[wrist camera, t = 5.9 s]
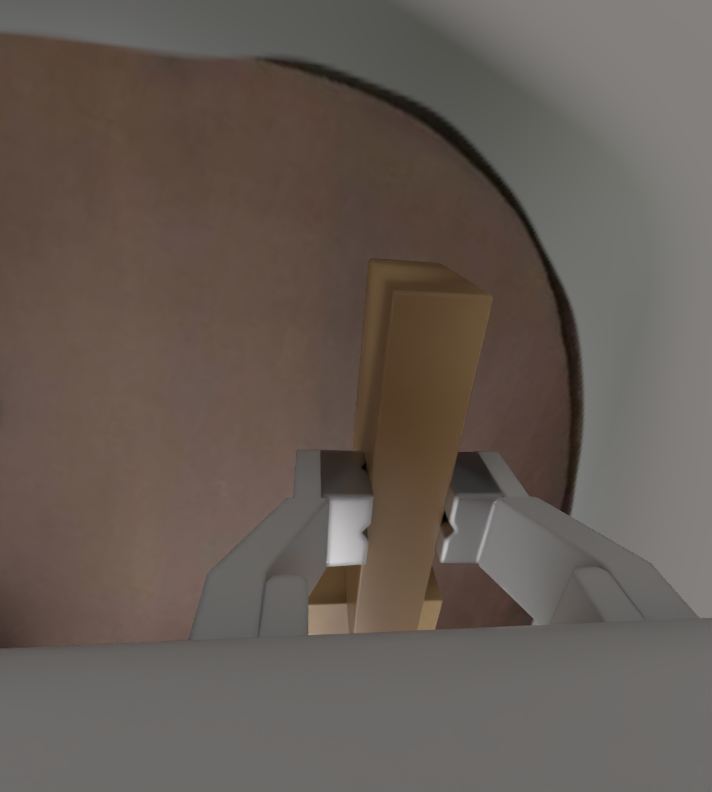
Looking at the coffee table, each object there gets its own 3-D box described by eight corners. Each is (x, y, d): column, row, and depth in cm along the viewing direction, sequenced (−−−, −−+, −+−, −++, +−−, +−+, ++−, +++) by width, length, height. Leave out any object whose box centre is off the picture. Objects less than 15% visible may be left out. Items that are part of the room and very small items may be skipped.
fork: (493, 266, 9) (568, 300, 6) (395, 706, 17) (410, 802, 15) (312, 253, 9) (311, 285, 6) (300, 713, 17) (297, 812, 14)
